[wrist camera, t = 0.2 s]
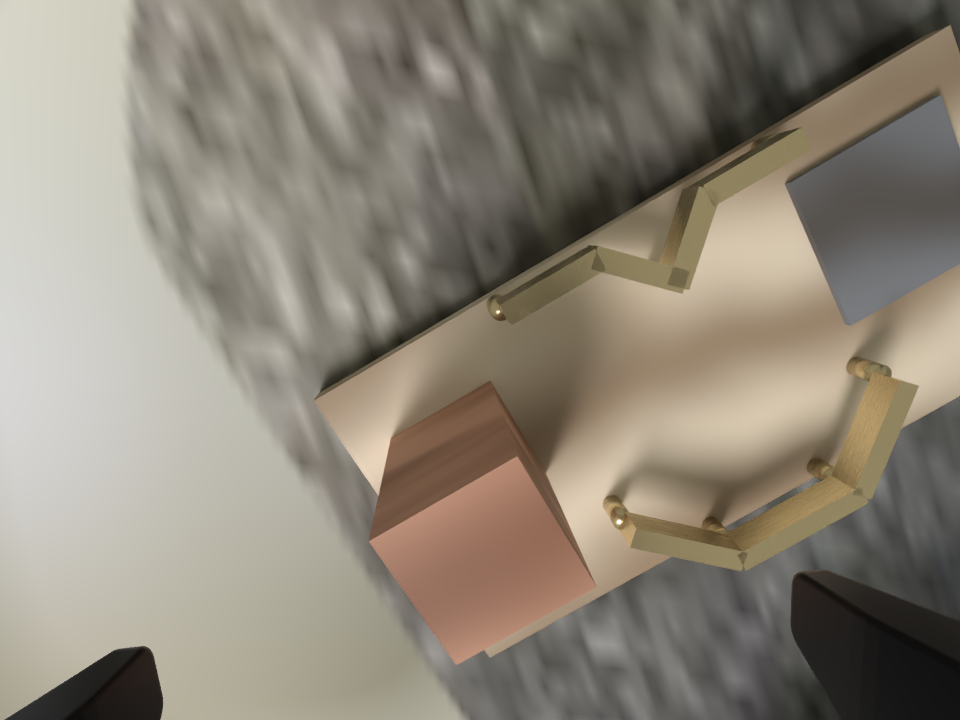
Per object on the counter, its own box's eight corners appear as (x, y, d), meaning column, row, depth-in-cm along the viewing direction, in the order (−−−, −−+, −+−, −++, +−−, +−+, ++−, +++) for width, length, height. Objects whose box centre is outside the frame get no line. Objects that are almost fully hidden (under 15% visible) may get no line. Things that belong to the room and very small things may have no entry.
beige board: (1031, 336, 23) (1066, 342, 22) (487, 640, 24) (490, 663, 23) (925, 34, 20) (958, 21, 19) (319, 393, 21) (311, 403, 20)
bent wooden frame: (894, 432, 22) (951, 457, 20) (641, 573, 23) (666, 615, 20) (766, 132, 19) (813, 119, 17) (482, 300, 20) (488, 310, 18)
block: (545, 473, 22) (596, 586, 15) (449, 527, 22) (456, 665, 15) (490, 380, 21) (516, 456, 14) (390, 438, 21) (369, 541, 14)
